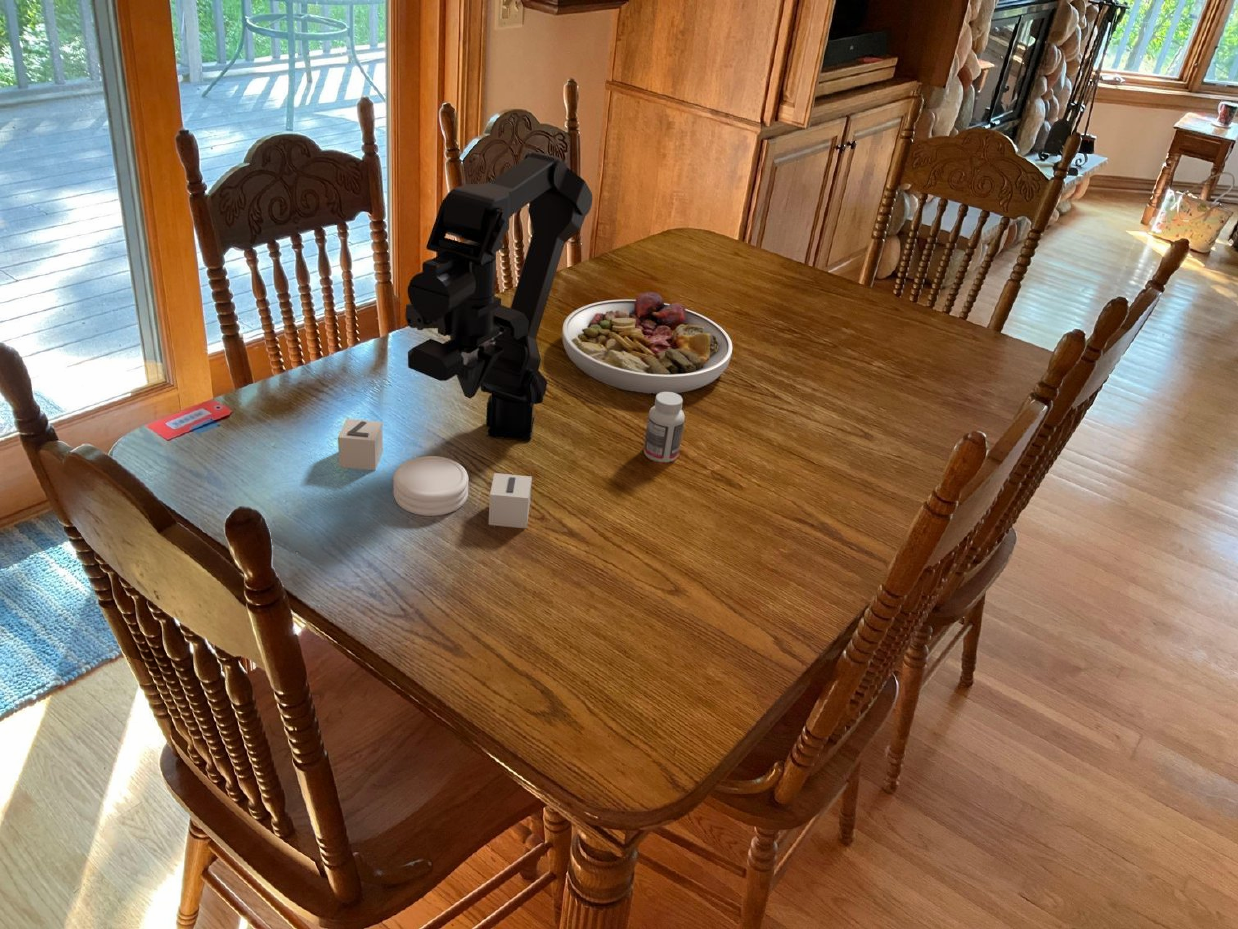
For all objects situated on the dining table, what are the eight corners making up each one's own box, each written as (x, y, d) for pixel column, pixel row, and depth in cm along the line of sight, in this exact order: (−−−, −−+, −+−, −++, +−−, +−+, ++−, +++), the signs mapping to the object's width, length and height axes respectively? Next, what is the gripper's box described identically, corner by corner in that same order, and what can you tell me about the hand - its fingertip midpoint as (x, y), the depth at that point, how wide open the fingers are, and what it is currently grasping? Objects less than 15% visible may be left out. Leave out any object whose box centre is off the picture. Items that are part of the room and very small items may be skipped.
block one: (529, 506, 133) (531, 475, 130) (526, 528, 129) (528, 497, 126) (493, 503, 133) (494, 471, 130) (488, 525, 129) (489, 493, 126)
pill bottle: (670, 442, 151) (679, 387, 146) (683, 461, 147) (693, 405, 142) (637, 446, 149) (645, 390, 144) (650, 465, 145) (659, 408, 140)
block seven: (382, 451, 140) (382, 420, 138) (375, 470, 136) (374, 439, 133) (347, 448, 140) (346, 417, 137) (339, 467, 136) (337, 436, 133)
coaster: (386, 480, 135) (386, 459, 133) (457, 470, 139) (457, 450, 137) (402, 523, 127) (402, 501, 126) (476, 511, 131) (477, 490, 129)
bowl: (734, 411, 162) (742, 369, 158) (554, 392, 161) (558, 349, 156) (721, 332, 187) (728, 294, 183) (566, 315, 186) (569, 277, 182)
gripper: (467, 252, 134) (464, 353, 142) (372, 293, 120) (376, 403, 128) (534, 275, 130) (527, 378, 138) (444, 321, 116) (443, 432, 124)
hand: (469, 396), depth 132 cm, fingers closed
